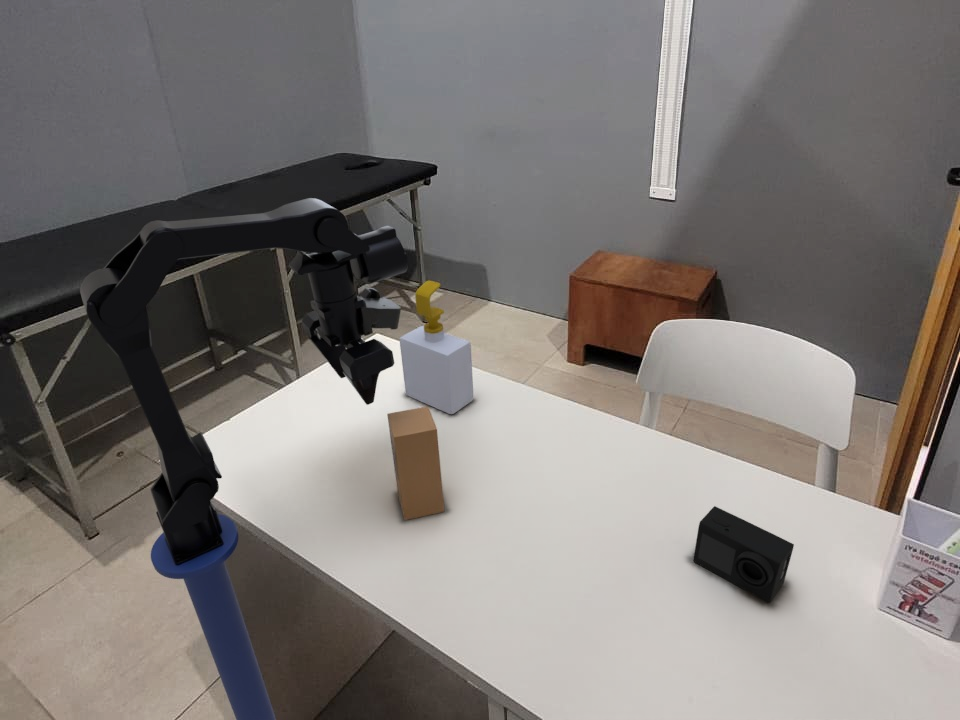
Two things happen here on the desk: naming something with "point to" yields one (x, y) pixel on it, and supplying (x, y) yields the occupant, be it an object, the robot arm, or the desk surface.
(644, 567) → the desk surface
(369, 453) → the desk surface
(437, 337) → the soap bottle
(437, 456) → the carton
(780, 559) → the digital camera
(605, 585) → the desk surface
